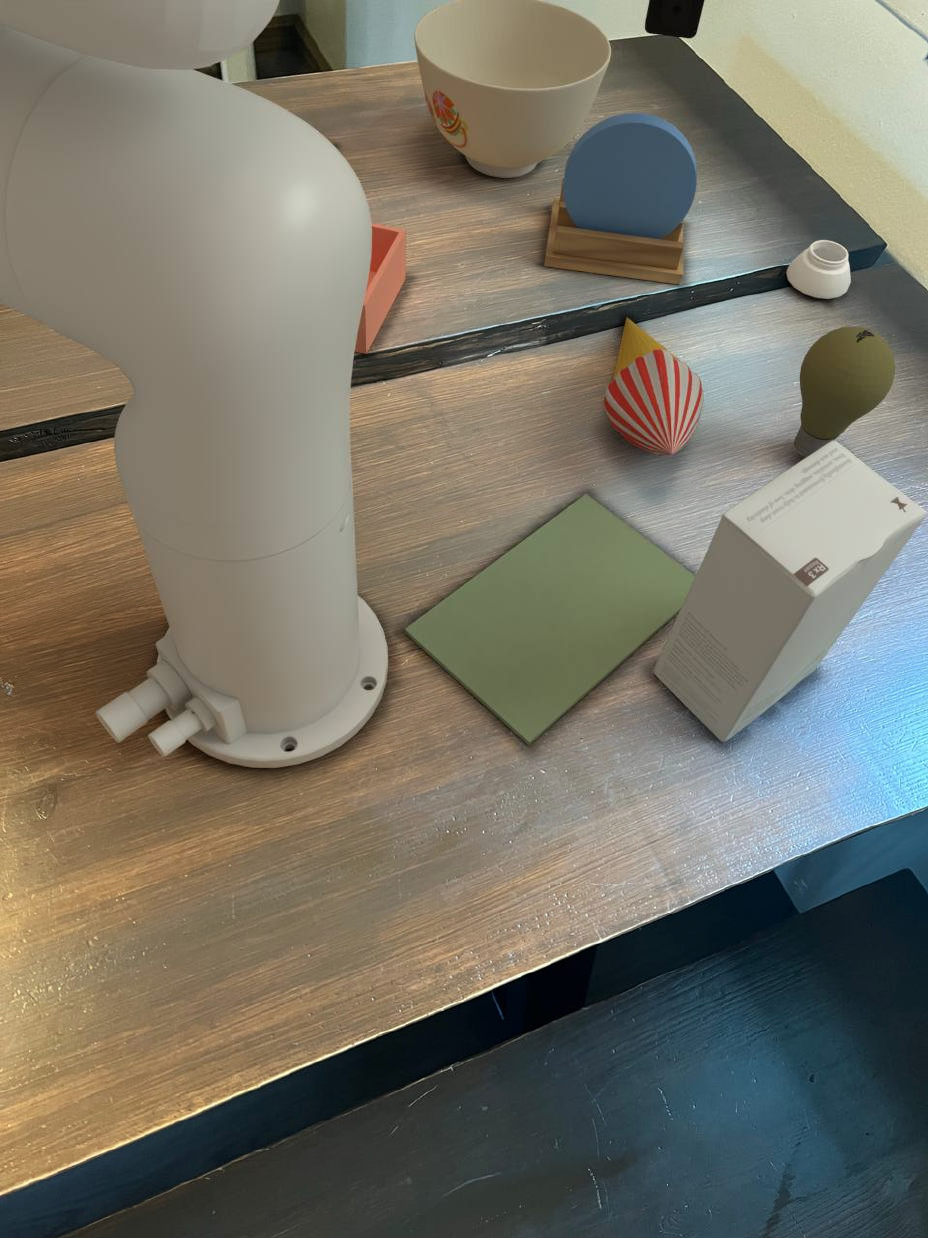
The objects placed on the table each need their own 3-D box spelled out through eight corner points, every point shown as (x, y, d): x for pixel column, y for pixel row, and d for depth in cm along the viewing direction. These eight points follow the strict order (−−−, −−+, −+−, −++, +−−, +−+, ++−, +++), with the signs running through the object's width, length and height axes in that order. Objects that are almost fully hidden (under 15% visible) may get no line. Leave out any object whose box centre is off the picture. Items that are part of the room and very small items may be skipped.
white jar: (826, 261, 80) (774, 269, 79) (840, 228, 78) (786, 236, 76) (858, 297, 77) (804, 306, 76) (873, 265, 75) (818, 274, 74)
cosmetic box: (742, 608, 58) (834, 428, 46) (819, 677, 56) (938, 505, 44) (645, 678, 55) (716, 504, 43) (722, 754, 53) (821, 591, 40)
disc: (678, 255, 77) (712, 131, 69) (554, 238, 77) (573, 113, 69) (678, 245, 78) (712, 122, 69) (555, 228, 78) (575, 103, 70)
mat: (528, 745, 52) (529, 742, 52) (404, 632, 56) (404, 628, 56) (705, 588, 59) (707, 584, 59) (584, 497, 63) (585, 493, 63)
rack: (680, 284, 77) (689, 251, 74) (544, 266, 77) (549, 232, 75) (680, 225, 82) (689, 192, 79) (552, 207, 82) (557, 174, 79)
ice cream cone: (629, 370, 77) (673, 514, 62) (569, 325, 74) (600, 464, 59) (685, 310, 74) (746, 447, 59) (624, 261, 71) (672, 390, 56)
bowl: (394, 119, 89) (394, 0, 80) (557, 106, 92) (574, -10, 84) (437, 218, 80) (442, 96, 72) (615, 200, 83) (640, 81, 75)
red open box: (405, 278, 75) (407, 156, 67) (366, 354, 70) (363, 231, 62) (190, 230, 77) (167, 106, 69) (136, 299, 71) (104, 174, 63)
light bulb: (780, 414, 69) (833, 296, 61) (856, 444, 67) (920, 327, 59) (756, 462, 66) (808, 344, 58) (834, 494, 64) (899, 378, 56)
